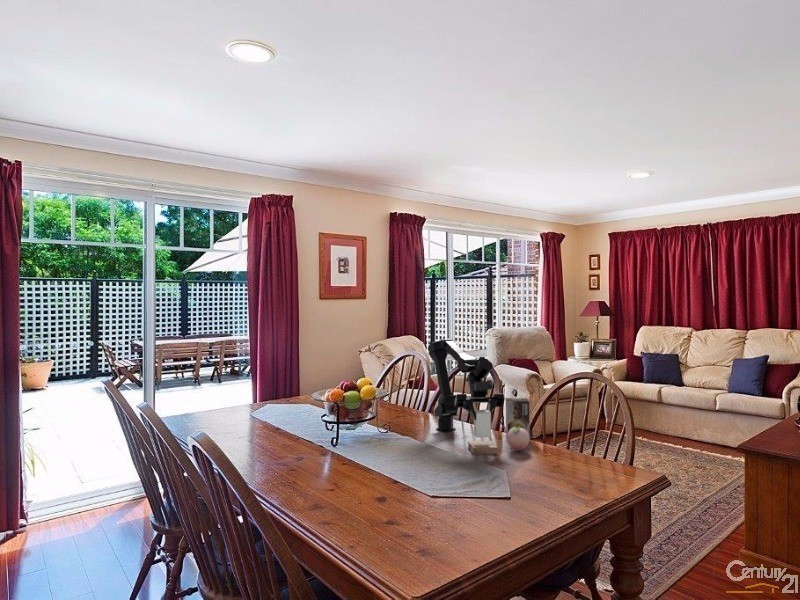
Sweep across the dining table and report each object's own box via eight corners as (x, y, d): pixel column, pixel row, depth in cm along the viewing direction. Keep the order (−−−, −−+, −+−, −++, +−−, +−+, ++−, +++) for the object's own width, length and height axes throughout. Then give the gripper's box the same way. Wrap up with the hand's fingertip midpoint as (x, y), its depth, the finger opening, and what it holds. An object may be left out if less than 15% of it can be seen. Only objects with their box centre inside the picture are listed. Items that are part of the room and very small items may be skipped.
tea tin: (473, 434, 195) (473, 409, 195) (488, 434, 195) (488, 409, 195) (476, 437, 191) (476, 412, 191) (490, 437, 191) (491, 412, 191)
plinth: (468, 447, 197) (468, 441, 197) (491, 447, 198) (491, 440, 198) (473, 454, 188) (473, 447, 188) (497, 454, 189) (497, 447, 189)
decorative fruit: (530, 455, 187) (530, 428, 187) (507, 454, 189) (507, 427, 189) (528, 448, 196) (528, 422, 196) (507, 447, 198) (507, 421, 198)
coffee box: (527, 436, 214) (527, 397, 214) (530, 440, 207) (529, 400, 207) (505, 435, 215) (505, 397, 215) (507, 440, 208) (507, 400, 208)
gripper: (456, 373, 196) (461, 407, 185) (503, 372, 198) (512, 407, 187) (452, 389, 204) (457, 424, 193) (497, 389, 206) (505, 423, 195)
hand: (483, 419), depth 192 cm, fingers closed on tea tin, 5 cm apart
